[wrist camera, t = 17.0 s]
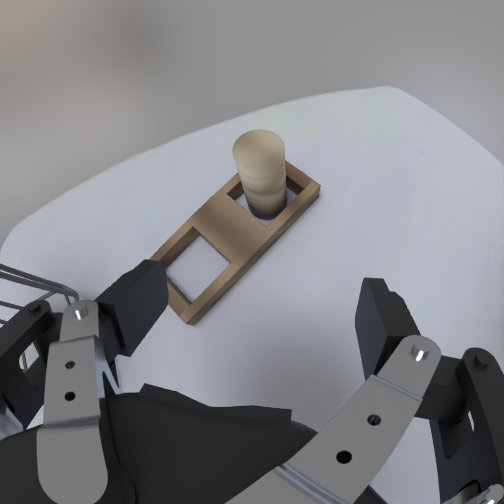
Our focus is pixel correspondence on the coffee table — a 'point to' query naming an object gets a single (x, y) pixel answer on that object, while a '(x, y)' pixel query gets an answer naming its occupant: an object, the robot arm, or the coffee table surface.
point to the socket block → (231, 238)
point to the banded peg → (262, 172)
